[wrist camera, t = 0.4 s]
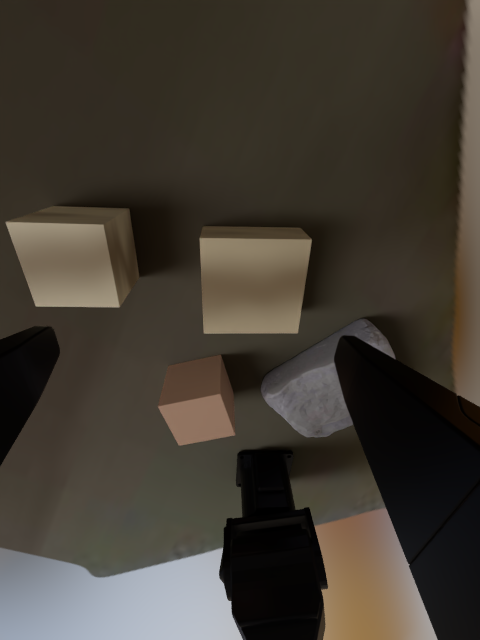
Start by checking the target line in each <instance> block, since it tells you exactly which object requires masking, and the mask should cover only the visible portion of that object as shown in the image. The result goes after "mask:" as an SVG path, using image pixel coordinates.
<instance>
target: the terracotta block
mask: <svg viewBox="0 0 480 640" xmlns="http://www.w3.org/2000/svg"><path fill="white" fill-rule="evenodd" d="M158 407H159V409H160V411H161V413H162V415H163V417H164V419H165V420H166V422H167V424H168V426H169V428H170V430H171V432H172V434H173V435H174V437H175V439H176V441H177V443H178V445H179V446H180V445H186V444H191V443H196V442H201V441H207V440H212V439H217V438H223V437H228V436H233V435H235V417H234V393H233V390H232V387H231V384H230V381H229V378H228V375H227V372H226V369H225V366H224V363H223V360H222V357H221V355H217V356H212V357H207V358H202V359H198V360H193V361H188V362H184V363H179V364H174V365H169V366H168V370H167V373H166V377H165V381H164V385H163V389H162V393H161V397H160V400H159V404H158Z"/></svg>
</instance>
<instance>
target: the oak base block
mask: <svg viewBox="0 0 480 640" xmlns="http://www.w3.org/2000/svg"><path fill="white" fill-rule="evenodd" d="M311 243H312V239H311V238H310V237H309V236H308V235H307V234H306V233H305V232H304V231H303V230H302V229H301V228H284V227H225V226H203V228H202V231H201V235H200V257H201V279H202V302H203V325H204V334H220V333H298V328H299V321H300V315H301V308H302V302H303V295H304V289H305V282H306V276H307V269H308V262H309V256H310V249H311Z"/></svg>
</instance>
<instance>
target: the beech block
mask: <svg viewBox="0 0 480 640" xmlns="http://www.w3.org/2000/svg"><path fill="white" fill-rule="evenodd" d="M6 225H7V228H8V230H9V233H10V236H11V239H12V241H13V244H14V247H15V250H16V252H17V255H18V258H19V261H20V263H21V266H22V269H23V272H24V274H25V277H26V280H27V283H28V285H29V288H30V291H31V294H32V297H33V299H34V302H35V305H36V306H47V307H120V306H121V304H122V303H123V301H124V300H125V298H126V297H127V295H128V294H129V292H130V291H131V289H132V288H133V286H134V285H135V283H136V282H137V280H138V279H139V270H138V264H137V257H136V250H135V244H134V237H133V230H132V223H131V217H130V210H129V208H97V207H64V206H52V207H49V208H46V209H43V210H40V211H37V212H34V213H31V214H28V215H25V216H22V217H19V218H16V219H13V220H10V221H7V222H6Z"/></svg>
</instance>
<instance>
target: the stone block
mask: <svg viewBox="0 0 480 640" xmlns="http://www.w3.org/2000/svg"><path fill="white" fill-rule="evenodd" d="M342 335H352V336H355V337H357V338H359V339H361V340H362V341H364V342H366V343H368V344H369V345H371V346H373V347H375V348H377V349H378V350H380V351H382V352H384V353H385V354H387V355H389V356H391V357H392V358H394V359H396V358H395V355H394V352H393V350H392V348H391V346H390V344H389V342H388V340H387V338H386V337H385V336H384V335H383V334H382V333H381V332H380V330H378V329H377V328H376V327H375V326H374V325H373V324H372V323H371V322H370V321H368V320H367V319H364V318H363V319H359V320H356V321H354V322H352V323H351V324H349V325H347V326H346V327H344V328H342V329H340V330H339V331H337V332H335V333H334V334H332V335H330V336H329V337H327V338H325V339H324V340H322V341H320V342H319V343H317V344H315V345H313V346H312V347H310V348H308V349H307V350H305V351H303V352H301V353H300V354H299V355H297V356H296V357H294V358H292V359H291V360H288V361H286V362H284V363H283V364H281V365H279V366H278V367H276V368H274V369H273V370H272V371H270V372H269V373H268V374H267V375H266V376H265V377H264V379H263V382H262V384H261V389H260V390H261V393H262V396H263V398H264V399H265V401H266V402H267V403H268V405H269V406H270V407H272V408H274V410H275V411H276V412H277V413H279V414H280V415H281V416H282V417H283V418H284V419H285V420H286V421H287V422H288V423H289V424H291V426H292V427H293V428H294V429H295V430H296V431H298V432H299V433H300V434H302V435H304V436H306V437H313V436H314V437H316V438H317V437H327V436H329V435H331V434H332V433H333V432H335V431H338V430H341V429H344V428H346V427H348V426H351V425H352V424H353V422H352V419H351V417H350V414H349V412H348V409H347V407H346V404H345V401H344V397H343V394H342V390H341V386H340V382H339V379H338V375H337V371H336V367H335V363H334V355H335V351H336V348H337V344H338V341H339V338H340V337H341V336H342Z"/></svg>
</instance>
